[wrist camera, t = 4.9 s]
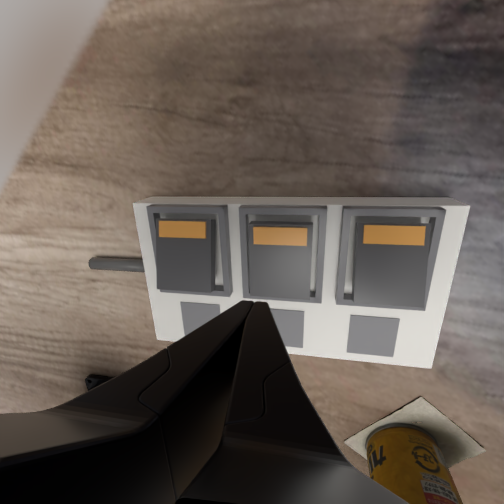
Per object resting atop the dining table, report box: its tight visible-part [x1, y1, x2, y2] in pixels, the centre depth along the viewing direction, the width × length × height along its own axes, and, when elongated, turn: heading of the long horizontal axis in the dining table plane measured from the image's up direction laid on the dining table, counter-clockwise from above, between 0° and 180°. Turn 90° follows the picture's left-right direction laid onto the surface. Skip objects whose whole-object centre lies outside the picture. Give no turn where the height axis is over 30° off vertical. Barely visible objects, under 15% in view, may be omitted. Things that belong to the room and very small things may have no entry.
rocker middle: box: [249, 221, 313, 300], centre depth 17 cm, size 4×4×1 cm
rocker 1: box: [156, 218, 216, 293], centre depth 18 cm, size 4×4×1 cm
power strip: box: [89, 196, 470, 369], centre depth 21 cm, size 26×11×3 cm, turn 92°
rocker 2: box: [351, 222, 431, 308], centre depth 16 cm, size 4×4×1 cm
